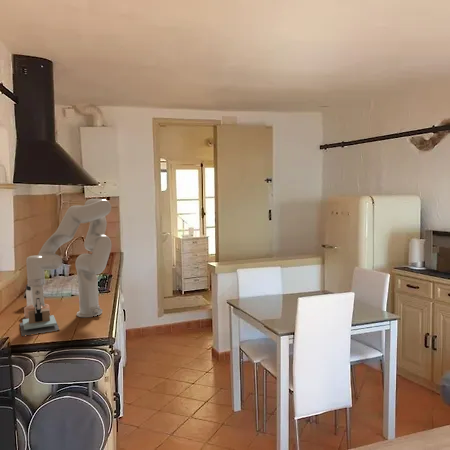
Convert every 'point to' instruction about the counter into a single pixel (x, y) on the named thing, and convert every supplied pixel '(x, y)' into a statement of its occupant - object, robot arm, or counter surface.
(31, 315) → the cover
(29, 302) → the jar
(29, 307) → the bowl
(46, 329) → the mat
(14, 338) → the counter surface
